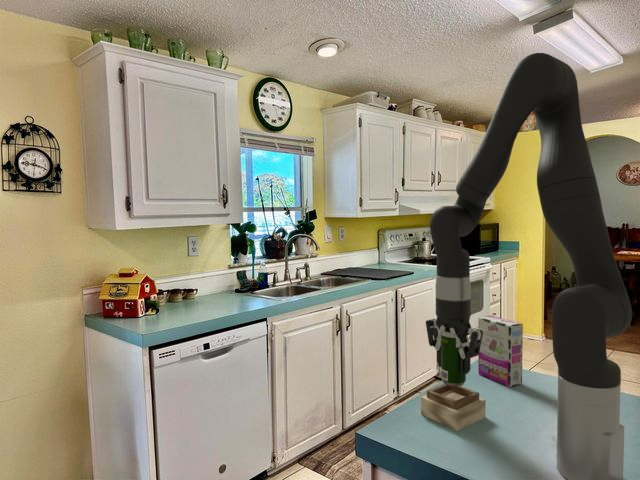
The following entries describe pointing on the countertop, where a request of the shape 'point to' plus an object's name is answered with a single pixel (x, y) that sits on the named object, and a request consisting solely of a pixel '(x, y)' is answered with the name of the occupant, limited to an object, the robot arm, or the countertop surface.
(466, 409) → the pedestal
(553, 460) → the countertop surface
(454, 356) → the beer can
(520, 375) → the candy bar box
